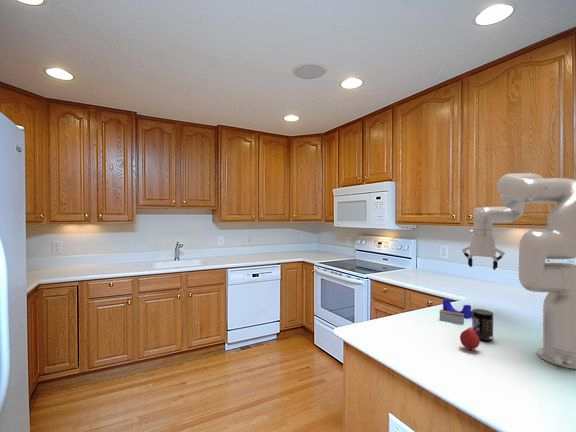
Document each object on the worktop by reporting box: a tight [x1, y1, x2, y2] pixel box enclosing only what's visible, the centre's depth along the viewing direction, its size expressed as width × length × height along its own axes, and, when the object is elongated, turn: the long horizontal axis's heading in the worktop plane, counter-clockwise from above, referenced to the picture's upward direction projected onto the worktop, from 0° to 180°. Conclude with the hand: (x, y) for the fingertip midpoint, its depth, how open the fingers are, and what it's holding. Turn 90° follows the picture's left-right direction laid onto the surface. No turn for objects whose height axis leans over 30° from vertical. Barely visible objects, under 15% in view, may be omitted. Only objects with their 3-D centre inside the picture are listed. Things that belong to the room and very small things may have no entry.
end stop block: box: [439, 309, 465, 326], centre depth 127 cm, size 3×9×4 cm, turn 49°
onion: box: [459, 326, 481, 351], centre depth 100 cm, size 6×6×8 cm
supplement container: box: [471, 308, 494, 343], centre depth 109 cm, size 7×7×10 cm
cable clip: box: [442, 298, 472, 320], centre depth 137 cm, size 12×4×6 cm, turn 24°
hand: (482, 267), depth 139 cm, fingers open, 9 cm apart
